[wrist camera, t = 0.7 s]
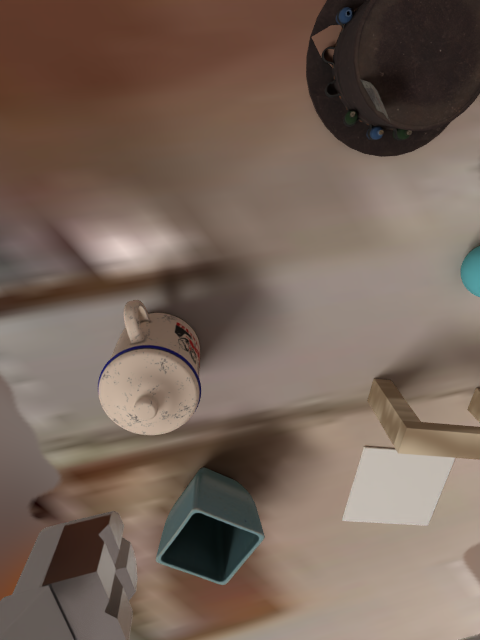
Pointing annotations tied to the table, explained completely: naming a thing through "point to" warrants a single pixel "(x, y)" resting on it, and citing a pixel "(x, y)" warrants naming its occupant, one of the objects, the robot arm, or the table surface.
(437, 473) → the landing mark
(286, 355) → the table surface
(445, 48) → the top hat
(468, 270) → the ball
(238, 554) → the flower pot
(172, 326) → the teacup with lid
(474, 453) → the bridge
